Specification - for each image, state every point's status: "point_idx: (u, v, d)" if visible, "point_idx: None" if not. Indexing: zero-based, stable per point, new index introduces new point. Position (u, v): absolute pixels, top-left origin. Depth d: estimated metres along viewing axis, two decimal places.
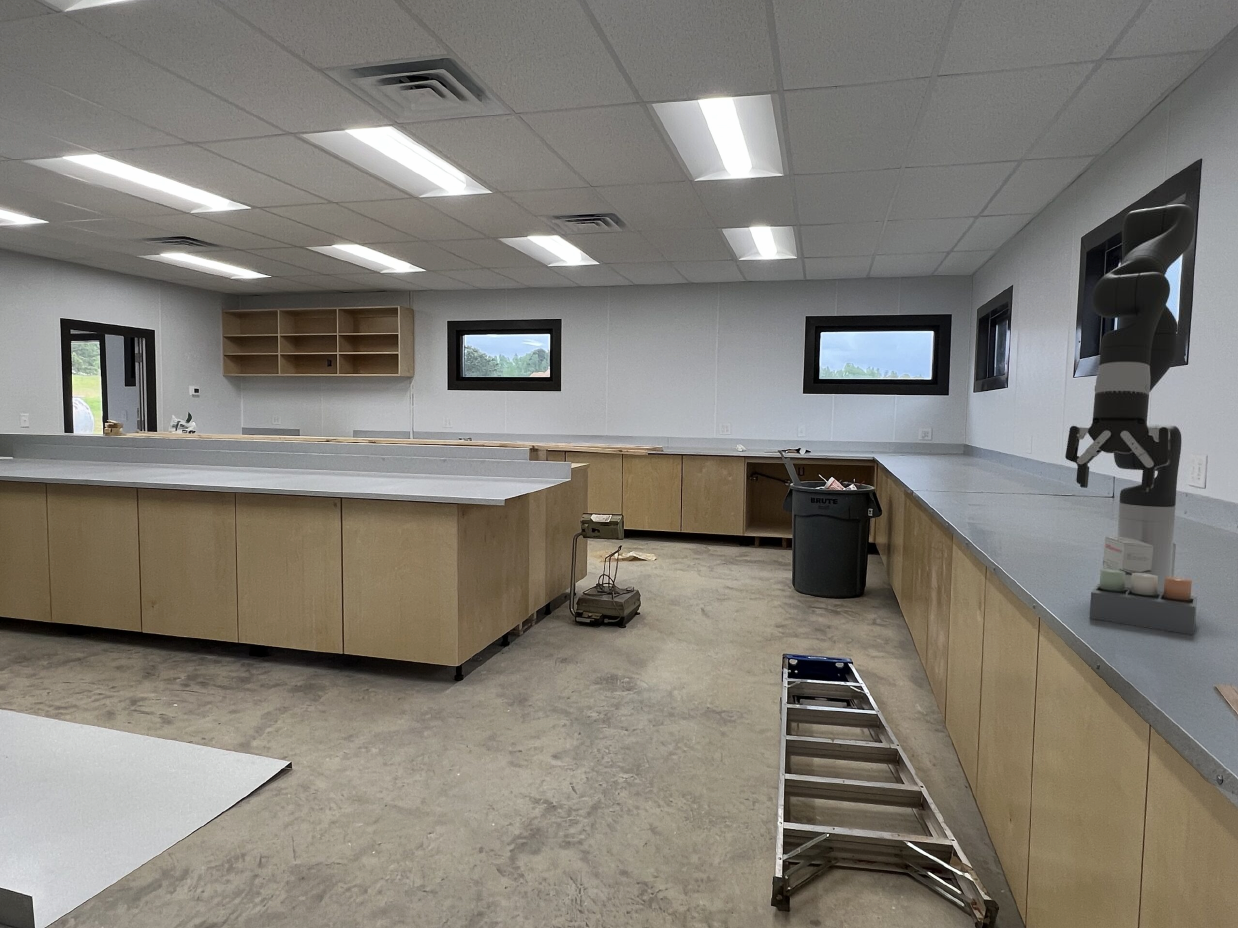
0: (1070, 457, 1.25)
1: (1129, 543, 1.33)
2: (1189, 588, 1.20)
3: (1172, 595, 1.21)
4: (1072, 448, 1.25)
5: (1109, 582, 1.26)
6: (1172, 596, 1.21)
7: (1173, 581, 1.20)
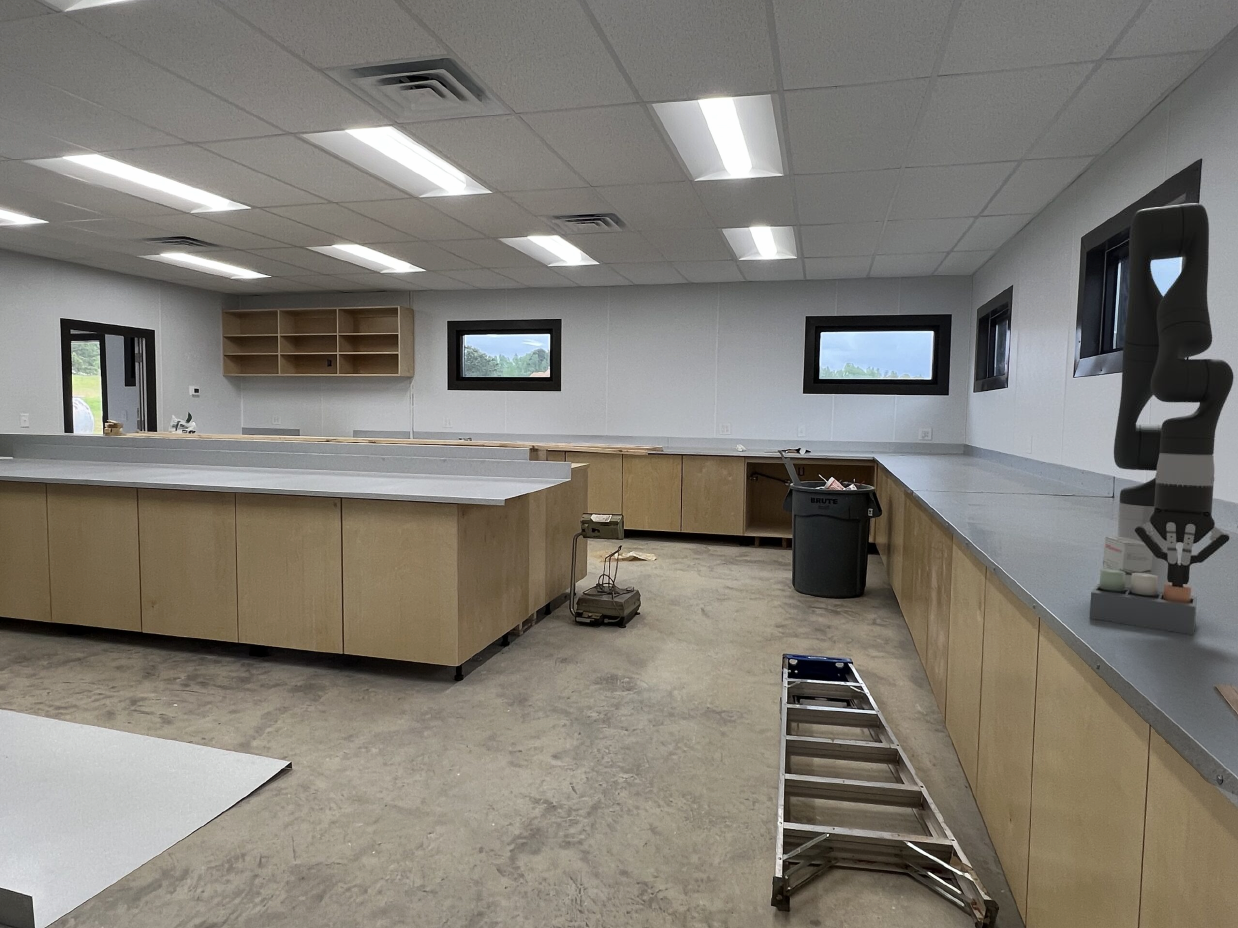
0: (1160, 555, 1.22)
1: (1129, 543, 1.33)
2: (1189, 595, 1.20)
3: None
4: (1154, 546, 1.22)
5: (1109, 582, 1.26)
6: None
7: (1173, 588, 1.20)
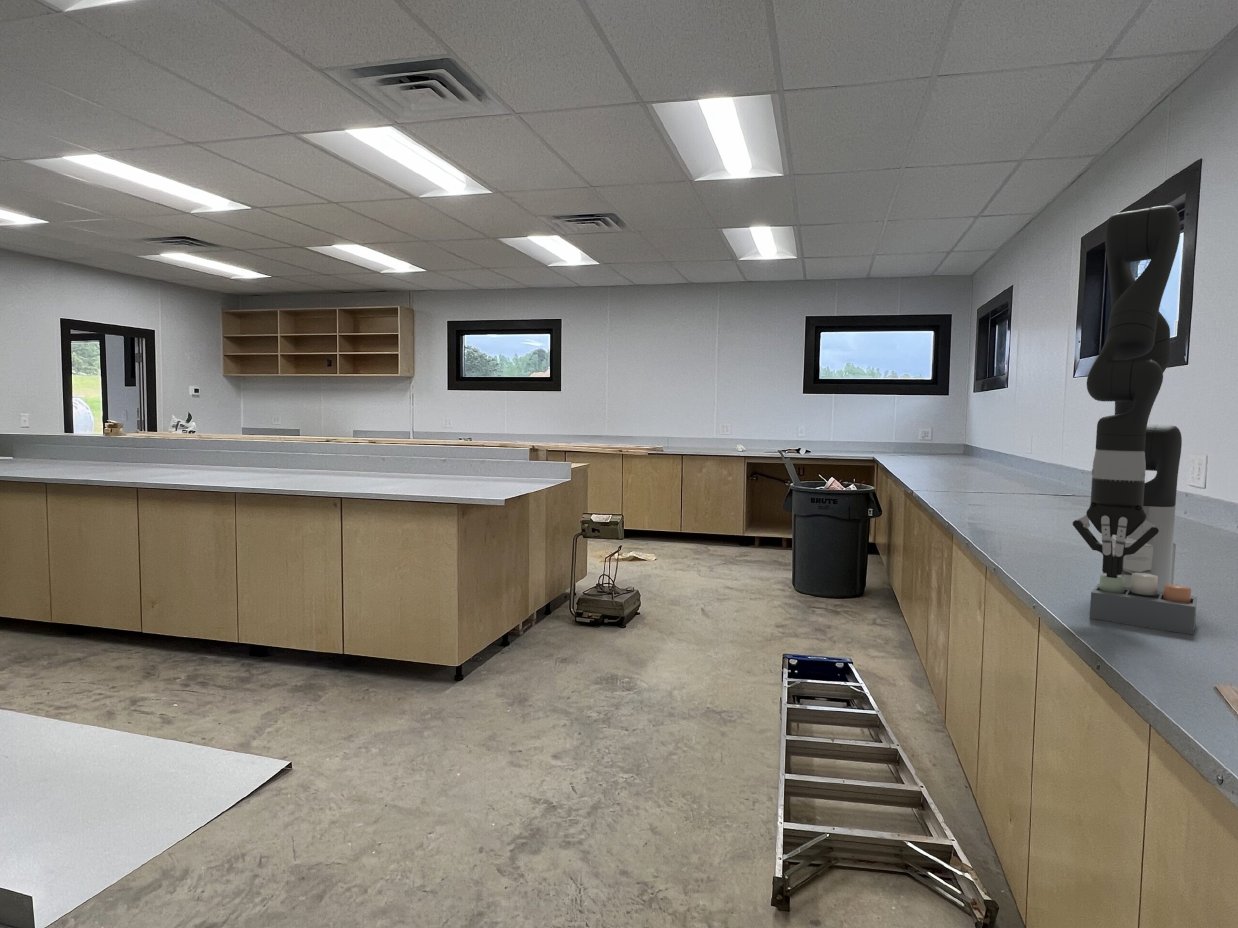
0: (1096, 547, 1.27)
1: (1129, 543, 1.33)
2: (1188, 596, 1.20)
3: None
4: (1090, 538, 1.28)
5: (1109, 588, 1.26)
6: None
7: (1172, 589, 1.20)
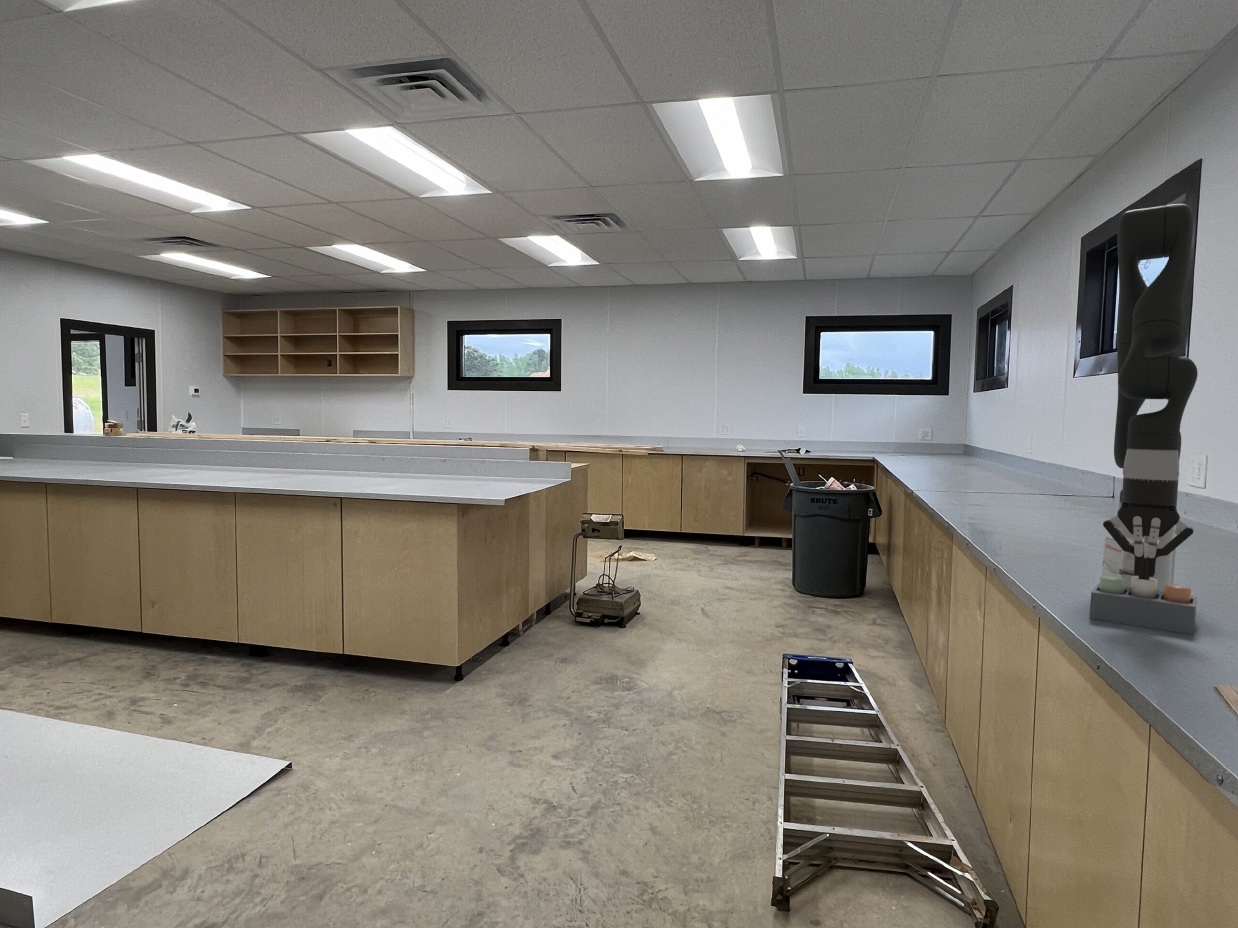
0: (1127, 548, 1.24)
1: None
2: (1188, 596, 1.20)
3: None
4: (1122, 540, 1.25)
5: (1109, 589, 1.26)
6: None
7: (1172, 589, 1.20)
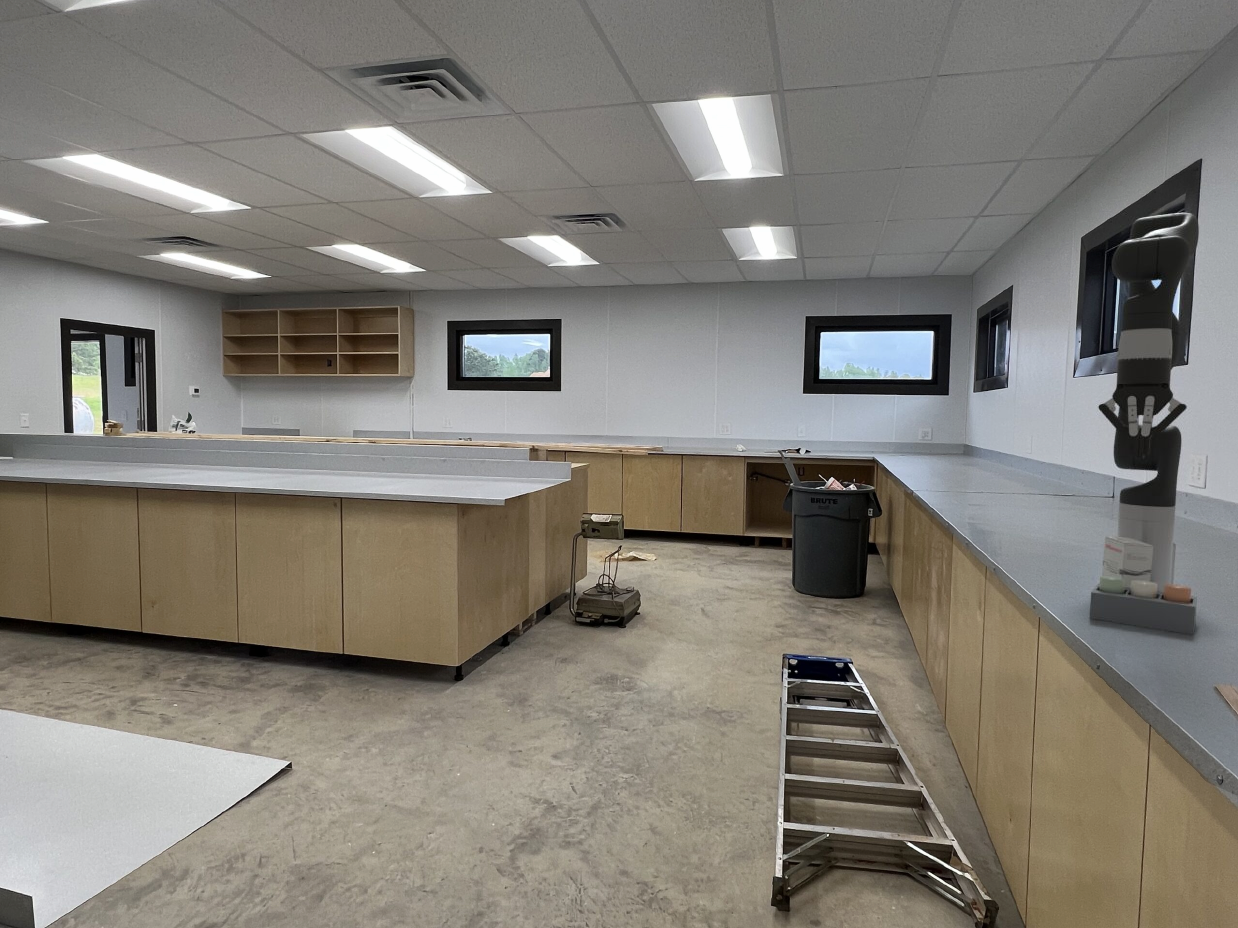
0: (1122, 429, 1.28)
1: (1129, 543, 1.33)
2: (1188, 596, 1.20)
3: None
4: (1117, 421, 1.28)
5: (1109, 589, 1.26)
6: None
7: (1172, 589, 1.20)
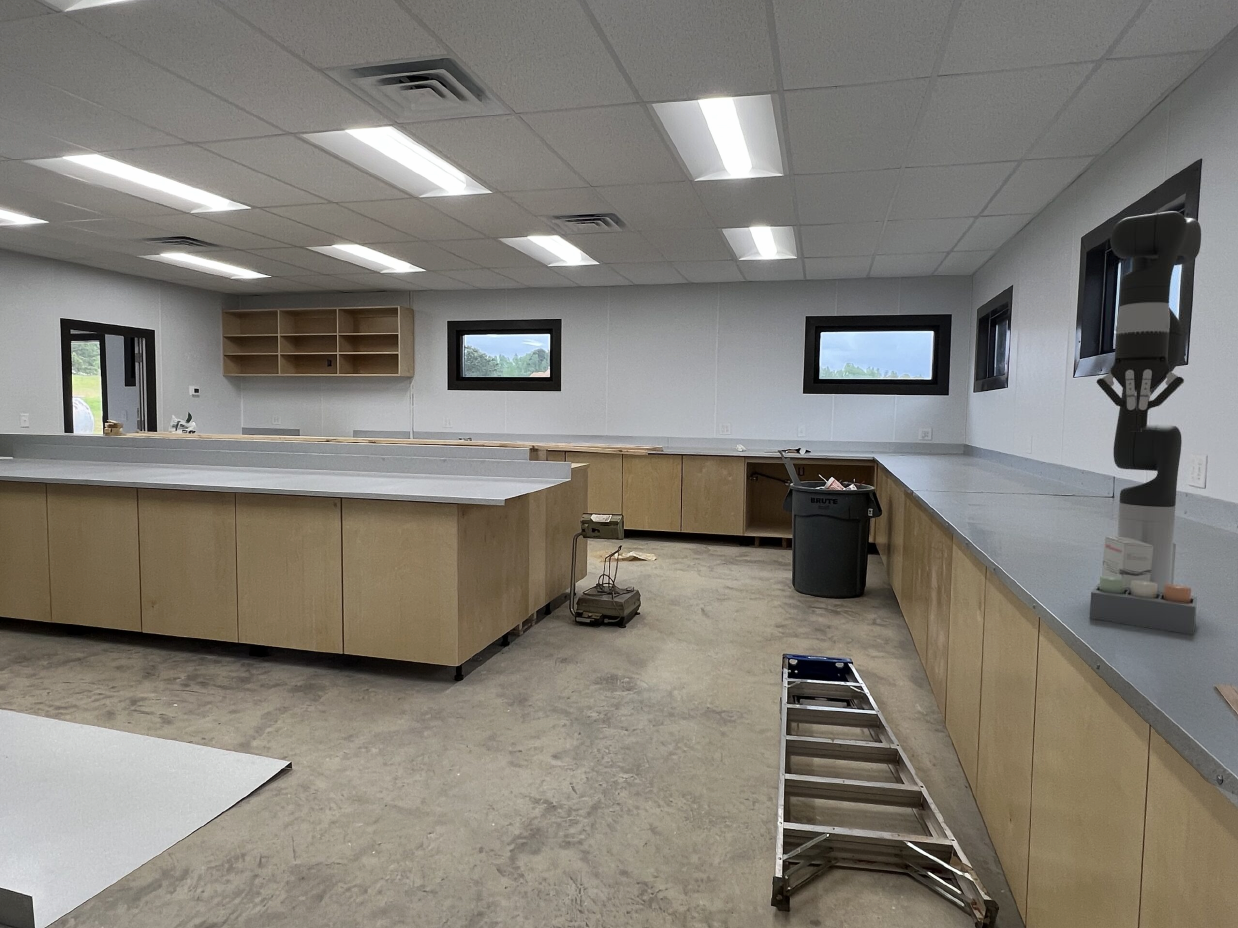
0: (1120, 403, 1.29)
1: (1129, 543, 1.33)
2: (1188, 596, 1.20)
3: None
4: (1115, 395, 1.29)
5: (1109, 589, 1.26)
6: None
7: (1172, 589, 1.20)
